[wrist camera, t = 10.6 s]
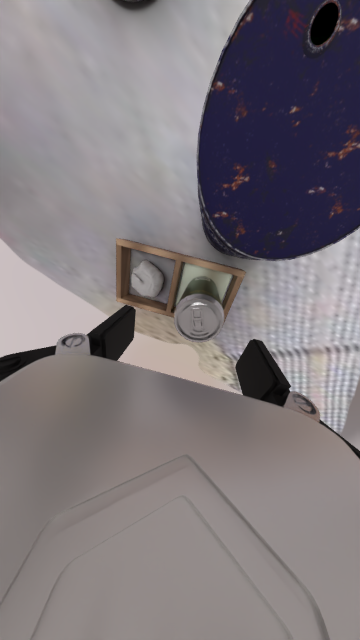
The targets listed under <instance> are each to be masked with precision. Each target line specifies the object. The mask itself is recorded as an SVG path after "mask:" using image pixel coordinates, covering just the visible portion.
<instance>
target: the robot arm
mask: <svg viewBox="0 0 360 640" xmlns="http://www.w3.org/2000/svg"><path fill="white" fill-rule="evenodd" d="M135 312H136V310H135V309H134V307H132V306H128V305H125V306H124V307H122V308H121V309H120V310H118V311H117V312H116V313H114V314H113V315H112V316H110V317H109V318H108V319H107V320H105V321H104V322H103V323H101V324H100V325H99V326H97V327H96V328H95V329H93V330H92V331H91V332H90V333H88V334H87V335H85V334H81V333H73V334H68V335H66V336H64V337H62V338H60V339H59V340H58V342H57V345H56V346H51V347H46V348H41V349H35V350H30V351H25V352H20V353H15V354H10V355H6V356H4V357H1V358H0V640H360V451H359V450H358V449H356V448H355V447H354V446H353V445H351V444H350V443H349V442H348V441H346V440H345V439H344V438H343V437H341V436H340V435H339V434H338V433H336V432H335V431H334V430H332V429H331V428H330V427H329V426H327V425H326V424H325V423H324V422H322V421H321V420H320V412H319V410H318V408H317V407H316V406H315V404H314V403H313V402H312V401H311V400H309V399H308V398H307V397H306V396H304V395H302V394H301V393H298V392H295V391H292V392H290V390H289V388H290V387H291V385H290V384H289V382H288V381H287V379H286V378H285V376H284V374H283V373H282V371H281V370H280V368H279V367H278V365H277V363H276V362H275V360H274V359H273V357H272V356H271V354H270V353H269V351H268V349H267V348H266V346H265V345H264V343H263V342H262V341H260V340H256V339H253V340H251V341H250V342H249V343H248V345H247V347H246V348H245V350H244V352H243V353H242V355H241V357H240V358H239V360H238V362H237V363H236V372H237V375H238V379H239V382H240V386H241V390H242V393H243V395H240V394H236V393H232V392H229V391H226V390H222V389H218V388H215V387H211V386H208V385H204V384H200V383H197V382H193V381H189V380H186V379H182V378H178V377H175V376H171V375H167V374H164V373H160V372H156V371H153V370H149V369H145V368H142V367H138V366H134V365H130V364H126V363H123V362H119V361H117V360H118V359H119V358H120V356H121V355H122V354H123V352H124V351H125V349H126V348H127V347H128V346H129V344H130V343H131V342H132V340H133V338H134V327H135Z"/></svg>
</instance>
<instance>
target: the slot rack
mask: <svg viewBox="0 0 360 640" xmlns="http://www.w3.org/2000/svg"><path fill="white" fill-rule="evenodd" d="M131 248H132V249H135V250H139V251H143V252H147V253H151V254H155V255H159V256H162V257H166V258H170V259H174V260H176V262H175V267H174V272H173V278H172V283H171V288H170V293H169V299H168V304H164V303H161V302H157V301H153V300H150V299H146V298H143V297H139V296H135V295H132V294H129V281H130V257H131ZM184 262H185V264H184V269H183V273H182V278H181V282H180V287H179V291H178V296H177V300H176V305H175V306H177V304H178V302H179V300H180V298H181V297H182V295H183V293H184V291H185V289H186V287H187V285H188V284H189V282H190V281H191V280H193V279H194V278H196V277H200V276H204V277H208V278H210V279H211V280H213V281H214V283H215V284H216V286H217V290H218V293H219V297H220V300H221V302H222V299H223V297H224V294H225V292H226V289H227V287H228V284H229V282H230V279H231V277H232V275H233V278H232V280H231V283H230V285H229V288H228V290H227V293H226V295H225V298H224V300H223V303H222V307H223V312H224V321H225V319H226V317H227V314H228V312H229V310H230V307H231V305H232V303H233V301H234V298H235V296H236V294H237V291H238V289H239V287H240V285H241V282H242V280H243V278H244V275H245V273H246V272H245V271H243V270H242V269H238V268H234V267H230V266H227V265H223V264H219V263H215V262H211V261H207V260H203V259H199V258H196V257H192V256H188V255H184V254H180V253H176V252H172V251H168V250H164V249H161V248H157V247H153V246H149V245H145V244H141V243H137V242H133V241H130V240H125V239H117V238H116V301H117V302H121V303H124V304H128V305H131V306H135V307H138V308H141V309H145V310H148V311H153V312H156V313H160V314H163V315H167V316H170V317H174V312H175V309H176V307H175V306H174V304H175V299H176V295H177V290H178V285H179V281H180V276H181V272H182V267H183V263H184ZM223 323H224V322H223ZM222 326H223V325H222Z"/></svg>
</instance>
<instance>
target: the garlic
mask: <svg viewBox="0 0 360 640" xmlns="http://www.w3.org/2000/svg"><path fill="white" fill-rule="evenodd" d="M163 282H164V278H163V275H162V273H161V272H160V271H159V270H158V269H157V268H156V267H155V266H154V265H152V264H151V263H150V262H149V261H148V260H144V261H143V262H141V263H140V265H139V266H137V267H134V269H133V273H132V275H131V283H132V287H133V288H135V289H136V291H137V292H139V293H140V294H141V295H142V296H144V297H145V296H150V297H156V296H157V295H158V294H159V292H160V290H161V289H162V286H163Z"/></svg>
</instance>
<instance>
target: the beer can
mask: <svg viewBox="0 0 360 640" xmlns="http://www.w3.org/2000/svg"><path fill="white" fill-rule="evenodd" d="M223 322H224V312H223V307H222V304H221V300H220V297H219V293H218V290H217V286H216V284H215V283H214V281H213V280H211V279H210V278H208V277H204V276H200V277H196V278H194V279H193V280H191V281H190V282H189V284H188V285H187V287H186V289H185V291H184V293H183V295H182V297H181V298H180V300H179V302H178V304H177V306H176V309H175V312H174V324H175V327H176V329H177V331H178V332H179V334H180V335H181V336H183V337H184V338H185V339H187V340H190V341H192V342H206V341H209V340H211V339H213V338H214V337H216V336H217V335H218V334H219V332H220V331H221V329H222V325H223Z"/></svg>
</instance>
